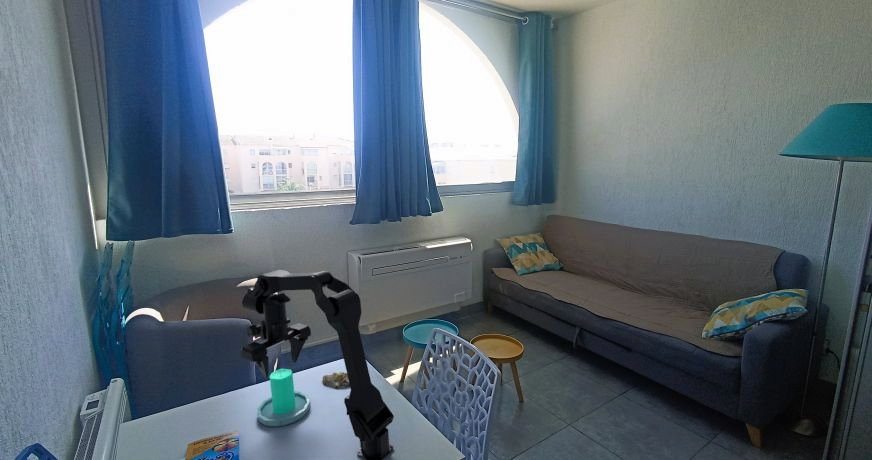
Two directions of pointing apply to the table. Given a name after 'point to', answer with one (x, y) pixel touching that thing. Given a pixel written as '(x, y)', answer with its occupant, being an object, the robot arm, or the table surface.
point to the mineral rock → (336, 380)
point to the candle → (282, 391)
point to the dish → (273, 419)
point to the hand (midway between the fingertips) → (280, 369)
